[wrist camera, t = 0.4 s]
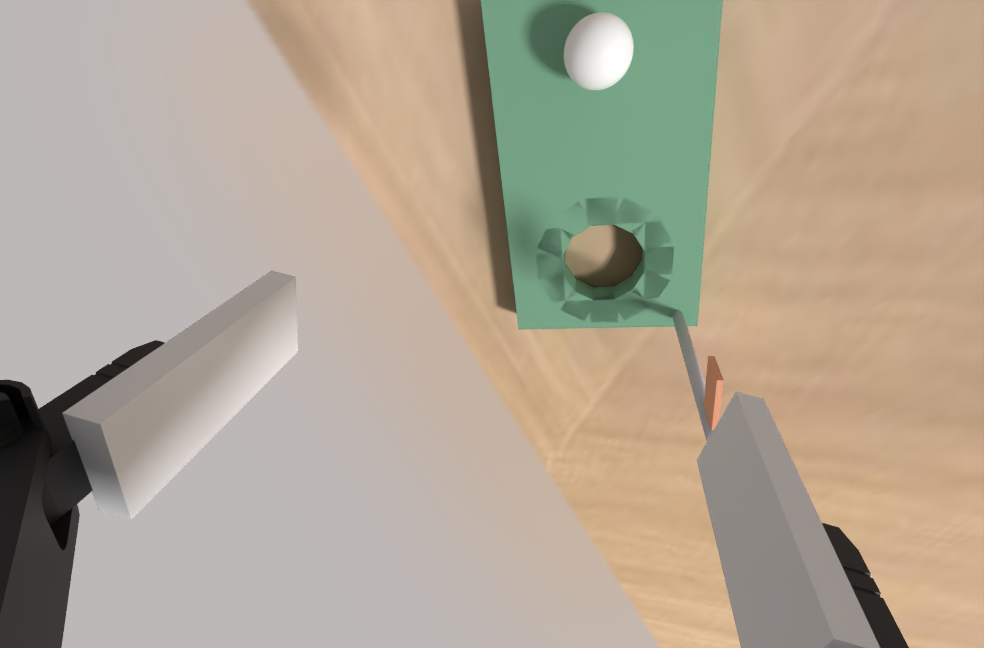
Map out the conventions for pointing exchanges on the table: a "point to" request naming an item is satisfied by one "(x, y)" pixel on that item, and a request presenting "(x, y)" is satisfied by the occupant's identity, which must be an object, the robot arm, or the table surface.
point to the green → (608, 164)
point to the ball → (598, 51)
